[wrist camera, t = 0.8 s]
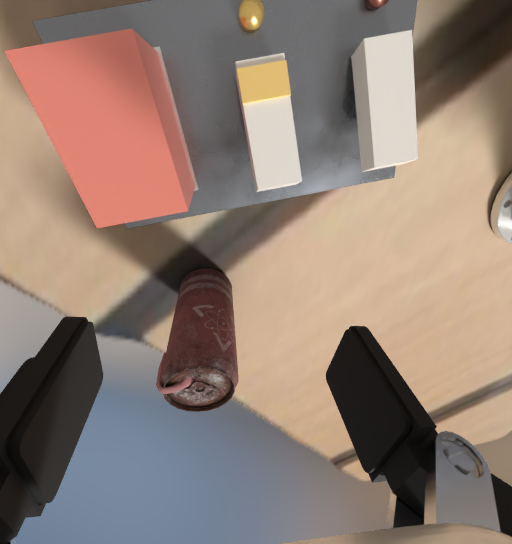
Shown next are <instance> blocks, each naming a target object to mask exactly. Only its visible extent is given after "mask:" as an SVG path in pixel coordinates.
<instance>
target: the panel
mask: <svg viewBox="0 0 512 544" xmlns="http://www.w3.org/2000/svg"><path fill="white" fill-rule="evenodd" d="M416 6H417V0H150V1H144V2H139V3H133V4H127V5H121V6H116V7H110V8H104V9H98V10H93V11H87V12H81V13H75V14H70V15H64V16H58V17H52V18H46V19H41V20H35V21H33V24H34V26H35V28H36V30H37V32H38V35H39V37H40V39H41V41H42V43H43V44H46V43H52V42H58V41H63V40H69V39H75V38H80V37H86V36H92V35H97V34H103V33H109V32H115V31H120V30H126V29H133V30H134V31H135V32H136V33H138V34H139V35H140V36H141V37H142V38H143V39H144V40H145V41H146V42H147V43H148V44H149V45H151V46H152V47H153V48H154V49H155V50H156V51H157V52H158V54H159V57H160V61H161V65H162V68H163V72H164V76H165V79H166V83H167V86H168V90H169V94H170V97H171V101H172V105H173V108H174V112H175V115H176V119H177V123H178V126H179V130H180V134H181V137H182V141H183V144H184V148H185V152H186V155H187V159H188V163H189V166H190V170H191V173H192V177H193V181H194V184H195V189H194V193H193V196H192V199H191V203H190V206H189V210H188V211H186V212H181V213H176V214H171V215H165V216H160V217H155V218H150V219H144V220H139V221H134V222H129V223H125V225H126V228H127V229H128V228H133V227H138V226H143V225H148V224H154V223H159V222H164V221H169V220H175V219H180V218H185V217H190V216H196V215H201V214H206V213H211V212H216V211H222V210H227V209H232V208H237V207H243V206H248V205H253V204H258V203H264V202H269V201H274V200H279V199H285V198H290V197H295V196H300V195H305V194H311V193H316V192H321V191H326V190H332V189H337V188H342V187H347V186H353V185H358V184H363V183H368V182H373V181H379V180H384V179H389V178H394V174H395V167H396V166H391V167H386V168H380V169H375V170H370V171H364V172H362V169H361V158H360V147H359V136H358V125H357V114H356V103H355V92H354V81H353V70H352V59H351V56H352V55H353V54H354V52H355V51H356V49H357V48H358V47H359V45H360V44H361V42H362V41H363V39H364V38H370V37H375V36H381V35H386V34H392V33H397V32H403V31H409V30H412V37H413V29H414V22H415V14H416ZM280 53H284V55H285V60H286V62H287V69H288V76H289V83H290V90H291V96H290V98H291V105H292V112H293V119H294V127H295V134H296V141H297V148H298V155H299V162H300V169H301V176H302V182H300V183H298V184H296V185H291V186H286V187H280V188H275V189H270V190H265V191H259V192H256V188H255V182H254V177H253V171H252V165H251V160H250V154H249V149H248V143H247V137H246V132H245V126H244V121H243V115H242V109H241V104H240V98H239V93H238V87H237V82H236V66H235V62H236V61H241V60H247V59H252V58H258V57H264V56H269V55H275V54H280Z"/></svg>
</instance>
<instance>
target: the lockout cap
mask: <svg viewBox="0 0 512 544" xmlns="http://www.w3.org/2000/svg"><path fill="white" fill-rule="evenodd" d="M5 53H6V55H7V57H8V59H9V61H10V63H11V65H12V67H13V69H14V70H15V72H16V74H17V76H18V78H19V80H20V82H21V84H22V86H23V88H24V90H25V91H26V93H27V95H28V97H29V99H30V101H31V103H32V105H33V107H34V109H35V111H36V113H37V114H38V116H39V118H40V120H41V122H42V124H43V126H44V128H45V130H46V132H47V134H48V135H49V137H50V139H51V141H52V143H53V145H54V147H55V149H56V151H57V153H58V155H59V157H60V158H61V160H62V162H63V164H64V166H65V168H66V170H67V172H68V174H69V176H70V178H71V179H72V181H73V183H74V185H75V187H76V189H77V191H78V193H79V195H80V197H81V199H82V201H83V202H84V204H85V206H86V208H87V210H88V212H89V214H90V216H91V218H92V220H93V222H94V223H95V225H96V227H97V228H102V227H108V226H113V225H118V224H123V223H129V222H134V221H139V220H144V219H150V218H155V217H160V216H165V215H171V214H176V213H181V212H186V211H188V210H189V206H190V203H191V199H192V196H193V193H194V189H195V184H194V181H193V177H192V173H191V170H190V166H189V163H188V159H187V155H186V152H185V148H184V144H183V141H182V137H181V134H180V130H179V126H178V123H177V119H176V115H175V112H174V108H173V105H172V101H171V97H170V94H169V90H168V86H167V83H166V79H165V76H164V72H163V68H162V65H161V61H160V57H159V54H158V52H157V51H156V50H155V49H154V48H153V47H152V46H151V45H149V44H148V43H147V42H146V41H145V40H144V39H143V38H142V37H141V36H140V35H139V34H138V33H136V32H135V31H134V30H133V29H126V30H120V31H115V32H109V33H103V34H97V35H92V36H86V37H80V38H75V39H69V40H63V41H58V42H52V43H46V44H40V45H35V46H29V47H23V48H18V49H12V50H6V51H5Z"/></svg>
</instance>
